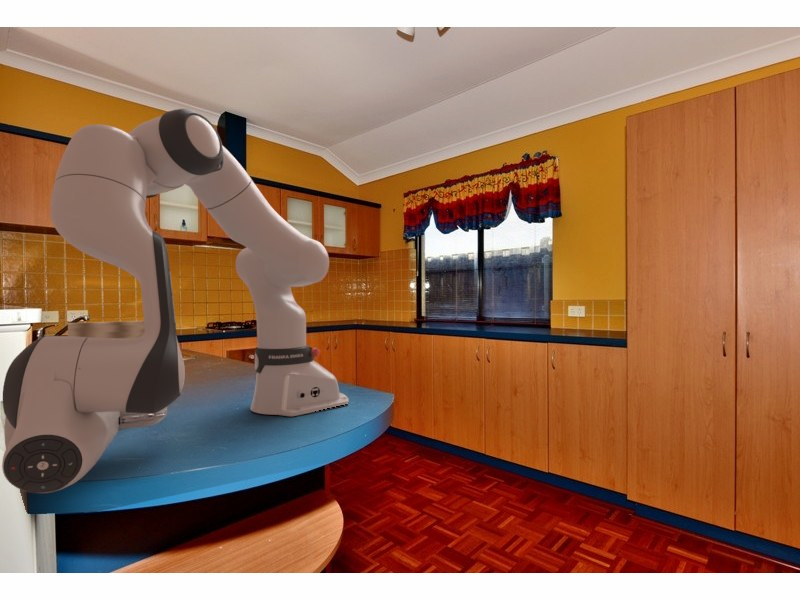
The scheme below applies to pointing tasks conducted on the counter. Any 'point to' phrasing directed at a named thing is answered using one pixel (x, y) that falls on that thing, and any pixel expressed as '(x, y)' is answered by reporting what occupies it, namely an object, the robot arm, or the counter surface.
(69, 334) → the wall board
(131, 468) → the counter surface
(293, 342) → the robot arm
